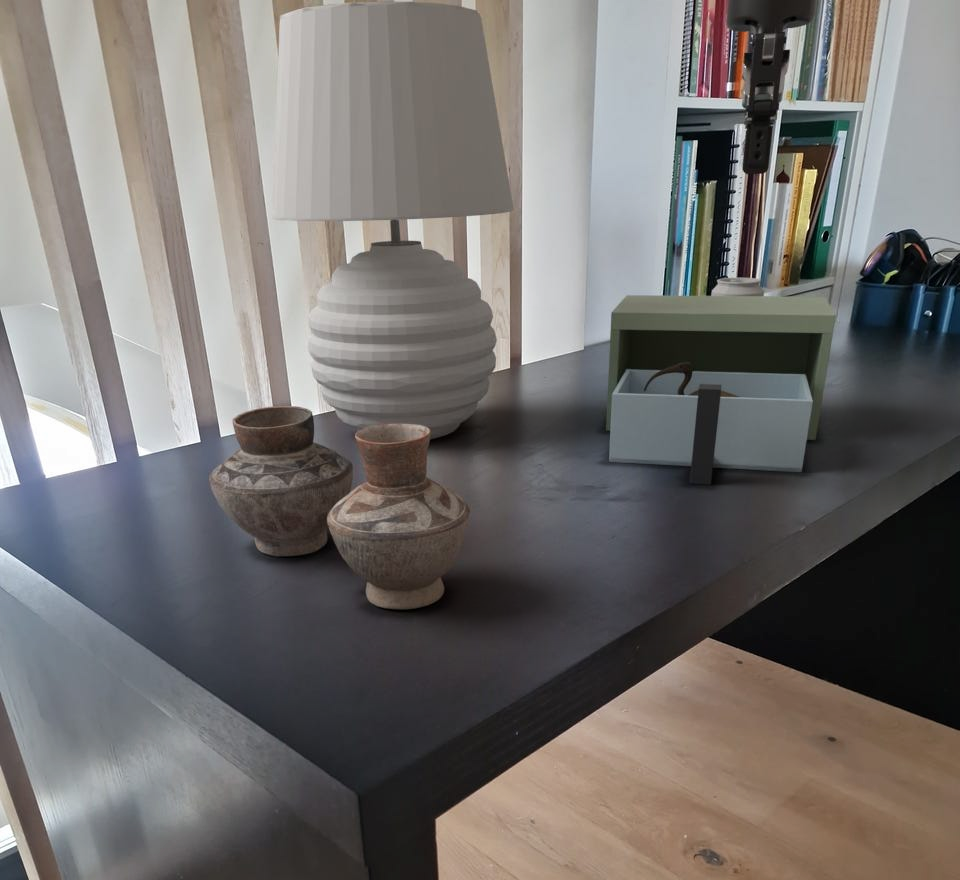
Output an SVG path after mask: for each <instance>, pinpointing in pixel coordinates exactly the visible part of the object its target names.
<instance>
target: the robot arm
mask: <svg viewBox="0 0 960 880" xmlns="http://www.w3.org/2000/svg"><path fill="white" fill-rule="evenodd" d="M816 9H817V0H727V6H726V18H725V19H726V21H725V24H726V27H727V28H728V29H729V30H730V31H732V32H740V33H746V32H751V33H752V34H753V36H754V38H752V43H751V46H752V47H753V49H752V50H751V51H748V52H744V53H743V61H742V73H741V78H742V79H743V89H742V91H743V92H742V99H741V100H742V102H741V107H742V108H743V109H745V112H744V115H743V116H744V117H743V118H744V120H743V125H744V129H745V137H744V145H743V158H742V167H741V168H742V169H741V170H742V172H743V173H744V174H746V175H762V174H766V173H767V172H768V170H769V166H770V158H771V149H772V139H773V131H774V130H773V129H774V125H775V123H776V121H777V120H778V111H779V110H780V103H781V102H782V101H783V97H784V90H785V81H786V80H785V79H786V75H787V73H788V71H789V66H790V65H789V64H790V58H791V57H790V56H791V49H784V48H785V45H786V44H787V38H788V37H787V36H786V31H785V30H786V29H795V28H800V27H804V26H807V25H809V24H810V23H812V21H813V20H814V18H815V17H816V16H815V15H816Z"/></svg>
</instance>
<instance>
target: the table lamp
mask: <svg viewBox="0 0 960 880" xmlns="http://www.w3.org/2000/svg"><path fill="white" fill-rule="evenodd" d="M278 29H279V30H278V31H279V34H278V59H277V60H278V61H277V86H276V87H277V88H276V110H275V111H276V115H275V138H274V139H275V140H274V142H275V143H274V144H275V145H274V166H273V167H274V170H273V197H272V219H273V220H277V221H294V222H358V221H359V222H362V221H364V222H365V221H367V222H368V221H389V222H390V223H389V224H390V240H386V241H384V240H383V241H376V242H371V243H370V248H369V250H366V251H362V252H359V253H357V254H355V255H354V256H352V257H351V259H350V261H349V262H348V263H345V264H343V265H340V266H337V267H336V268H335V270H334V272H333V273H332V275H331V282H328V283H326V284H324V285H323V286H321V287H320V288H319V291H318V293H317V296H316V301H317V305H316V306H314V307H313V308H312V309H311V311H310V313H309V315H308V317H307V318H308V321H307V322H308V327H309V329H310V331H311V334H310V336H309V337H308V339H307V350H308V352H309V355H310V357H311V358H312V360H311V362H310V369H311V374H312V377H313V378H314V380H315V381H316V382H317V383H318V384H319V385H320V393H321V396H322V398H323V401H324V402H326V404H328V405H329V406H330V407H331V408H334V411H335V414H336V415H337V418H338V419H340V420H341V421H342V422H343V423H344V424H345V425H347V426H350V427H352V428H354V429H355V430H356V431H357V432H358V431H360V430H362V429H364V428H367V427H370V426H376V425H383V424H417V425H422V426H426V427H428V428H429V429H430V431H431V435H430V441H431V440H433V439H437V438H440V437H443V436H444V437H445V436H447V435H449V434H452V433H453V432H455V431H456V430H457V429H458V428H459V427H460V425H461V424H462V422H465V421H466V420H468V419H469V418H471V416H473V415H474V414H475V413H476V411H477V409H478V406H479V402H480V401H482V399H484V398H485V396H486V395H487V394H488V392H489V389H490V384H491V381H490V376H491V375H492V374H493V373H494V370H495V369H496V365H497V356H496V354H495V351H494V349H495V347H496V345H497V341H498V339H497V335H496V331H495V329H494V328H493V326H492V325H491V324H492V322H493V319H494V314H493V309H492V307H491V305H490V304H489V303H488V302H487V301H485V300H484V299H482V290H481V288H480V285H479V284H478V283H477V281H475V280H474V279H473V278H470V277H466V276H465V271H464V268H463V267H462V266H461V265H460V264H459V263H458V262H455V261H454V260H450V259H445V258H444V257H445V256H444V255H442V254H441V253H440V252H438V251H436V250H432V249H428V248H423V244H422V241H420V240H401V230H400V229H401V228H400V221H401V220H422V219H424V220H425V219H427V220H428V219H443V218H444V219H447V218H463V217H474V216H475V217H477V216H485V215H486V216H488V215H496V214H497V215H499V214H504V213H510V212H513V211H514V203H513V197H512V191H511V185H510V179H509V172H508V168H507V163H506V162H507V161H506V157H505V150H504V144H503V138H502V131H501V126H500V121H499V115H498V109H497V101H496V98H495V92H494V91H495V90H494V85H493V80H492V73H491V69H490V62H489V57H488V51H487V44H486V39H485V33H484V27H483V21H482V17H481V14H480V13H479V12H478V10H476V9H473V8H470V7H465V6H461V5H455V4H446V3H436V2H422V1H353V2H343V3H342V2H341V3H331V4H330V3H329V4H323V5H316V6H307V7H302V8H299V9H295V10H292V11H288V12H286V13H283V14H281V15H279V28H278Z"/></svg>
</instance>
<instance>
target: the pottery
mask: <svg viewBox="0 0 960 880" xmlns="http://www.w3.org/2000/svg"><path fill="white" fill-rule="evenodd" d="M313 415H314V414H313V411H312V410H310V409H308V408H306V407H301V406H297V405H296V406H294V405H273V406H265V407H264V406H263V407H259V408H254V409H251V410H248V411H244V412H241V413H239V414H237V415H236V416H234V417H233V418H232V421H231V423H232V426H233V430H234V434H235V435H234V436H235V437H236V440H237V442H238V444H239V447H240V449H239V450H236V452H233V454H231V455H229V456H228V457H227V458H226V459H224V461H222V462H221V463H219V464H218V465H217V466H216V468H214V469H213V470H212V472H210V473H209V476H208V481H209V485H210V489H211V491H212V493H213V496H214V498H215V500H216V502H217V503H218V505H219V507H220V508H221V509H222V511H223V512H224V513H225V514H226V516H227V517H228V518H229V519H230V520H231V521H232V522H233V523H234V524H235V525H236V526H237V527H239V528H240V529H241V530H242V531H244V532H245V533H247V534H248V535H250V536H252V537H254V544H255V546H256V548H257V550H258V551H260V552H261V553H263V554H265V555H269V556H271V557H298V556H299V557H300V556H304V555H310V554H313V553H315V552H317V551H318V550H320V549H322V548H323V547H324V546H325V545H327V542H328V532H327V529H329V532H330V535H331V537H332V540H333V542H334V544H335V546H336V548H337V550H338V553H339V555H341V558H342V559H343V560H344V562H345V563H346V564H347V565H348V567H349V568H350V569H351V570H352V571H353V572H354V573H355V574H356V575H357V576H359V578H360V579H363V580H364V581H365V582H366V587H365V596H366V598H367V600H368V601H369V602H370V603H371V604H372V605H373V606H376V607H379V608H383V609H390V610H414V609H418V608H423V607H426V606H430V605H432V604H434V603H436V602H437V601H439V600H440V599H441V598H442V596H443V595H444V592H445V586H444V583H443V580H442V576H444V574H446V573H447V572H448V571H449V570H450V568H451V567H452V566H453V564H454V562H455V561H456V560H457V558H458V555H459V553H460V550H461V548H462V546H463V545H462V544H463V542H464V539H465V536H466V532H467V528H468V524H469V519H470V512H471V510H470V508H471V507H470V506H469V504H468V503H467V502H466V501H465V500H464V499H463V498H462V497H461V496H460V495H458V494H457V493H456V492H455V491H453V490H451V489H449V488H447V487H445V486H444V485H442V484H440V483H439V482H437V481H434V480H433V479H431V478H429V477H427V471H428V470H427V466H428V465H427V464H428V463H427V462H428V461H427V460H428V451H429V447H430V441H431V440H430V435H431V431H430V429H429V428H428V427H426V426H422V425H417V424H383V425H376V426H370V427H367V428H364V429H362V430H360V431H358V430H357V431H356V432H355V435H354V438H355V442H356V444H357V448H358V451H359V454H360V457H361V461H362V466H363V467H362V468H363V471H364V475H365V479H366V481H364V482H363V483H361V484H359V485H357V486H356V487H355V488H354V489H353V490H351V489H352V486H353V479H354V478H353V477H354V465H353V463H352V462H351V461H350V459H348V458H347V457H345V456H344V455H342V454H340V453H339V452H337V451H335V450H333V449H331V448H329V447H327V446H325V445H322V444H320V443H317V442H314V438H315V422H314V416H313Z"/></svg>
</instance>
